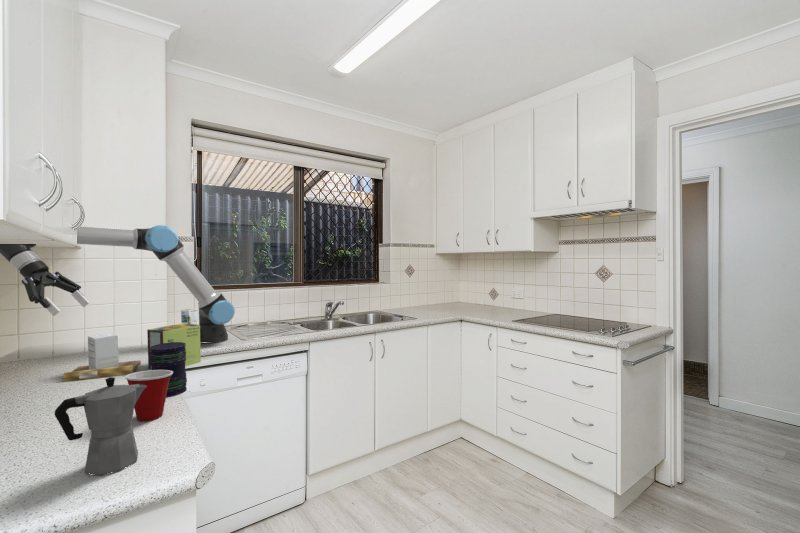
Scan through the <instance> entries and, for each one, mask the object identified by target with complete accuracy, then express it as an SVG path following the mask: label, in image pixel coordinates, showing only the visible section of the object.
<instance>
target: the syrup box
mask: <svg viewBox="0 0 800 533" xmlns="http://www.w3.org/2000/svg"><path fill="white" fill-rule="evenodd" d="M197 313H198V311H197V308H183V309H181V310H180V316H181V317H180V318H181V319H180V320H181V322H180V324H182V323H187V324H196V325H198V314H197Z"/></svg>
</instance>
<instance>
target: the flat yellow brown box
mask: <svg viewBox="0 0 800 533" xmlns="http://www.w3.org/2000/svg"><path fill="white" fill-rule="evenodd" d="M141 364H142V363H141V359H140V360H131V361H130V360H129V361H121V362H120V361H119V367H111V368H102V369H92V370H89V365H82V366H77V367H76V368H74V369H73V370H72V371H66V372H63V382H64V381H67V382H75V381H74V380H76V381H83V380H84V381H85V380H90V379H92V380H93V379H101V378H109V377H118V376H126V375H128V374H131V373H135V372H136V370H138V368H139V367H140V366H141Z"/></svg>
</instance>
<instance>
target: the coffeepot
mask: <svg viewBox="0 0 800 533" xmlns="http://www.w3.org/2000/svg"><path fill="white" fill-rule="evenodd" d="M115 381H116V377H115V376H111V377H106V378H105V383H106V386H104V387H100V388H98V389H95V390H92V391H89V392H86V393H84V394H83V395H78V396H75V397H70V398H66V399H64V400H63V401H62V402H61V403H60V404H59V406H57V407H56V409H55V410H54V417H55V418H56V420H57V422H58V423H59V425H60V427H61V429H62V430H63V433H64V435H65V436H66V438H67V440H68V441H76V440H79V439H81V438H82V437H83V435H84V432H80V433H75V429H74V425H73V424H72V423H71V420H70V416H69V414H68V412H67V411H68V410H69V409H73V408H79V407H80V408H81V407H83V408H84V413H85V418H86V422H87V427H88V430H90V438H89V444H88V449H87V455H86V462H85V466H84V472H85V473H84V474H87V473H90V474H95V475H96V476H102V475H101V474H106V475H108V474H107V473H111V472H114V473H116V472H115V471H117V472H119V471H118V470H120V471H122V470H121V469H123V470H125V469H126V468H125V467H127V468H129V467H130V466H132V465H133V464H135V463H136V462H137V461H138V457H139V451H138V446H137V442H136V438H135V434H134V429H133V427H132V422H133V417H134V412H135V409H134V405H135V403H136V402H137V400H138V398H139V396H140V395H141V393H142V392H143V390H144V389H145V388H146V387H147V386H146V385H144V384H141V385H140V384H135V385H129V384H115ZM135 461H136V462H135ZM134 462H135V463H134ZM131 464H132V465H131ZM129 465H130V466H129ZM128 466H129V467H128ZM124 468H125V469H124ZM111 474H112V473H111ZM95 475H94V476H95Z"/></svg>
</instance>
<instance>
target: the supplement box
mask: <svg viewBox="0 0 800 533" xmlns="http://www.w3.org/2000/svg"><path fill="white" fill-rule="evenodd" d="M118 337H119V335H118V334H114V333H110V332H108V333H102V334H97V335H89V336H87V350H88V352H87V354H88V366H89V370H92V369H102V368H111V367H119V362H120V361H119V360H120V359H119V338H118Z"/></svg>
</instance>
